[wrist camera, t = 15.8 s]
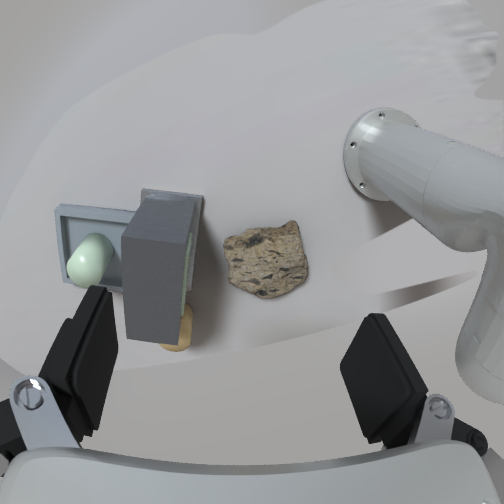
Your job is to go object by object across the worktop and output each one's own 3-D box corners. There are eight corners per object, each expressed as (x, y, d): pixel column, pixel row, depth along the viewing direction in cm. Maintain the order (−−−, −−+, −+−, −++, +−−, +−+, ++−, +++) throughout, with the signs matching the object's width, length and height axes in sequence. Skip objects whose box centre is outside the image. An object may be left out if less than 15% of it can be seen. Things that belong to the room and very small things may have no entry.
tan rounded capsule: (194, 302, 45) (191, 330, 40) (191, 325, 47) (189, 353, 42) (162, 298, 44) (156, 325, 39) (162, 321, 47) (156, 349, 41)
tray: (138, 211, 37) (134, 218, 36) (137, 285, 43) (134, 293, 41) (61, 203, 35) (54, 209, 34) (68, 274, 41) (63, 282, 39)
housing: (202, 195, 37) (195, 240, 27) (191, 288, 44) (184, 349, 33) (142, 188, 36) (112, 230, 25) (140, 281, 42) (120, 340, 32)
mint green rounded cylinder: (114, 235, 38) (100, 258, 33) (113, 265, 40) (101, 291, 35) (82, 230, 37) (65, 251, 32) (82, 260, 39) (68, 284, 34)
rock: (235, 296, 45) (236, 315, 42) (219, 229, 40) (219, 245, 36) (305, 283, 45) (312, 300, 42) (299, 214, 40) (307, 228, 36)
